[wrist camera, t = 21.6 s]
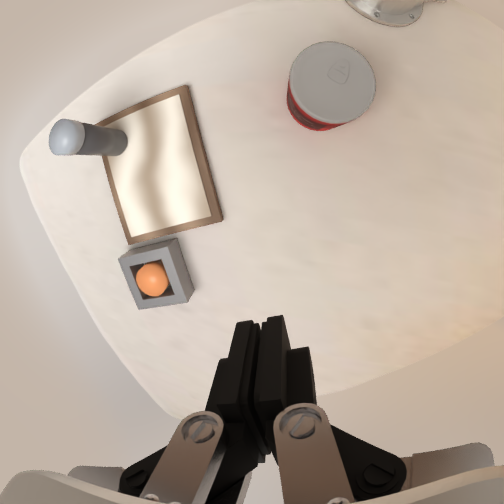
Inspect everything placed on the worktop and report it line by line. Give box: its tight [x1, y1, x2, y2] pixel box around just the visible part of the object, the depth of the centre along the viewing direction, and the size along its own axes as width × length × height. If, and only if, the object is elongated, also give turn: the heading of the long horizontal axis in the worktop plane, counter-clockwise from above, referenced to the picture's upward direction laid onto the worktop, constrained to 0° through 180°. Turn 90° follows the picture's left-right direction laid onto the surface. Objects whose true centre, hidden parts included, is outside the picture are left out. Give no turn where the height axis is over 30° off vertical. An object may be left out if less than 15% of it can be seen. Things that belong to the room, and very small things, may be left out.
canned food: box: [287, 41, 376, 131], centre depth 25 cm, size 8×8×11 cm
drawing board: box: [95, 85, 223, 245], centre depth 35 cm, size 14×18×1 cm
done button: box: [136, 259, 170, 296], centre depth 38 cm, size 4×4×3 cm
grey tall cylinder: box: [49, 119, 127, 156], centre depth 28 cm, size 4×4×11 cm
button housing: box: [118, 238, 194, 310], centre depth 39 cm, size 8×8×4 cm
